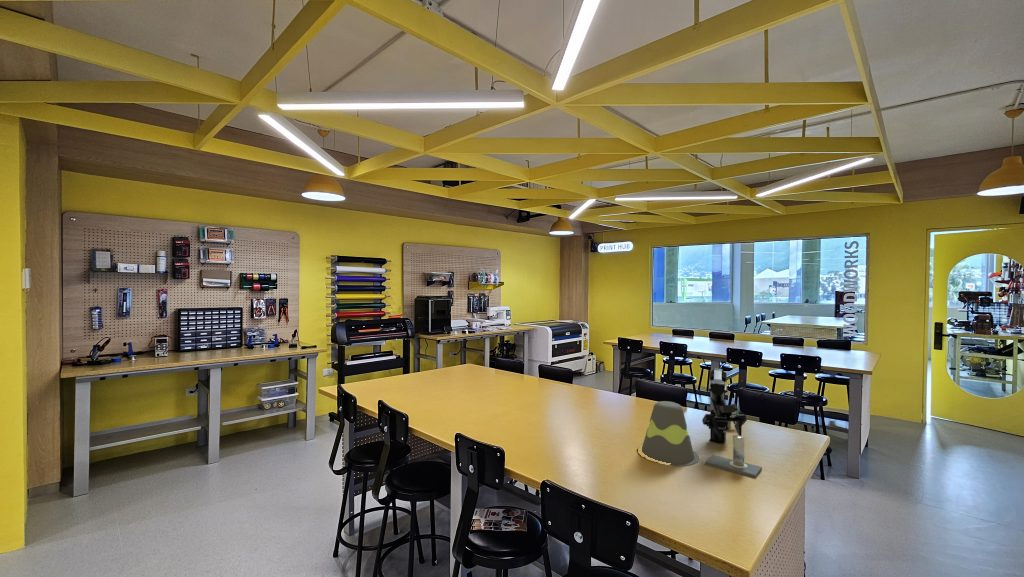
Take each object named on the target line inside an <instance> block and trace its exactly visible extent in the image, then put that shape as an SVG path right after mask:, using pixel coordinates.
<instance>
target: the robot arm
mask: <svg viewBox="0 0 1024 577" xmlns="http://www.w3.org/2000/svg"><path fill="white" fill-rule="evenodd" d="M727 377H728V376H727V372H726V371H724V369H722V368H712V370H710V371H709V381H710V383H709V384H708V392H709V393H710V396H709V397H710V401H711V402H710V403H711V405H712V409H711V410H710V413H705V414H704V415H703V418H702V419H701V421H702V424H703V425H704V426H706V427H708V430H710V432H709V433H710V435H709V436H710V437H709V438H710V439H709V440H708V441H710V442H713V443H717V444H724V443H725V442H727V433H726V432H727V431H729V428H728V422H731V423H732V422H733V425H734V429H735V431H736V432H737V435H739V436H742V427H743V425H744V424H745V423H746V422H747V420H748V418H747V415H745V414H740V413H738V414H735V415H736V416H735V417H730V416H731V415H733V414H732V413H734V412H735V411H737V410H738V411H739V409H738V408H739V407H738V406H737V404H736V403H732V404H729V405H728V404H726V402H725V399H724V398H725V394H727V393H728V392H729V391H728V390H729V389H728V387H727V385H726V382H727V379H728V378H727Z"/></svg>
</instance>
